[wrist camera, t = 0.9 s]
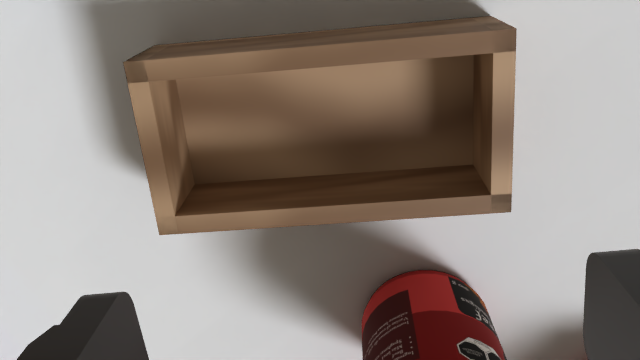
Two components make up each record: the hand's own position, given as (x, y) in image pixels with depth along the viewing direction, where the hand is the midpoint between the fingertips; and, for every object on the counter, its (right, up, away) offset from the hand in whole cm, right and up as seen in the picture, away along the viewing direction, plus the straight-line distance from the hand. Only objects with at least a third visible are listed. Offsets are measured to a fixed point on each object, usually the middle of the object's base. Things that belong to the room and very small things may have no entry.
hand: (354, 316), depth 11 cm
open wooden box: (0, +6, +23) cm, 24 cm away
